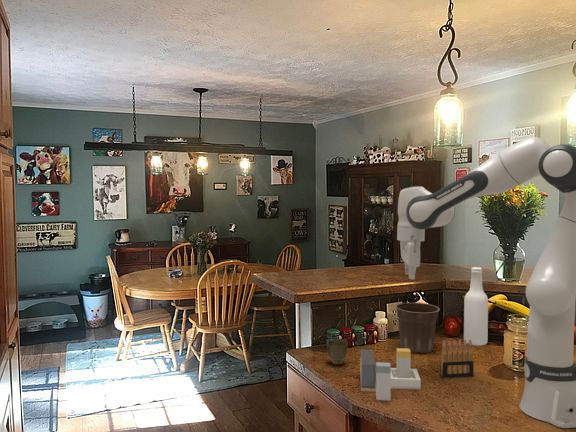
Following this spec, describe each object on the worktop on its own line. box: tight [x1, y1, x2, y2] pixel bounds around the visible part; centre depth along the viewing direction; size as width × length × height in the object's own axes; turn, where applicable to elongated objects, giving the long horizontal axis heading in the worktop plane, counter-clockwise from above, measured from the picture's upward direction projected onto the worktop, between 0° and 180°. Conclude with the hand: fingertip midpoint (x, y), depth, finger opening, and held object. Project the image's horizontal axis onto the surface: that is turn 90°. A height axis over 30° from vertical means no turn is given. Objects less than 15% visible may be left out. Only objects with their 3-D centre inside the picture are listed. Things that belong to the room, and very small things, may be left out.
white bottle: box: [463, 266, 489, 347], centre depth 193 cm, size 9×9×30 cm
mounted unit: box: [359, 349, 376, 393], centre depth 154 cm, size 5×16×8 cm, turn 173°
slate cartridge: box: [375, 361, 392, 402], centre depth 142 cm, size 4×3×10 cm
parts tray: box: [391, 367, 422, 391], centre depth 153 cm, size 9×9×3 cm
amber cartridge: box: [395, 347, 412, 378], centre depth 153 cm, size 4×3×10 cm
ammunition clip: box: [439, 339, 475, 379], centre depth 159 cm, size 11×2×12 cm, turn 96°
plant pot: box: [395, 302, 441, 354], centre depth 186 cm, size 16×16×16 cm
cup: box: [325, 338, 349, 366], centre depth 170 cm, size 8×7×8 cm
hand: (409, 276), depth 162 cm, fingers open, 8 cm apart
